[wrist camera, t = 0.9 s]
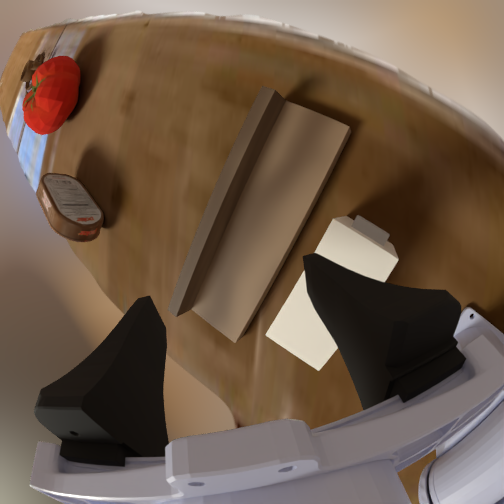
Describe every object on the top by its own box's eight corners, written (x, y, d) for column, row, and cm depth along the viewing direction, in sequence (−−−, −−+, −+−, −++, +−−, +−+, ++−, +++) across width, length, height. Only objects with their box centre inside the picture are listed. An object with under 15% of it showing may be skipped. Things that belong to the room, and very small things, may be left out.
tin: (71, 185, 39) (29, 187, 32) (76, 169, 38) (33, 169, 30) (109, 240, 35) (59, 248, 28) (116, 222, 34) (63, 228, 27)
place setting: (48, 42, 46) (34, 39, 41) (53, 64, 43) (35, 60, 38) (26, 87, 54) (12, 85, 48) (29, 117, 51) (12, 115, 46)
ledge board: (351, 131, 20) (345, 116, 17) (242, 337, 28) (222, 354, 24) (280, 102, 22) (262, 85, 19) (191, 298, 30) (167, 309, 26)
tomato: (65, 150, 39) (19, 148, 31) (52, 107, 42) (15, 103, 33) (100, 83, 33) (50, 72, 24) (82, 51, 36) (43, 41, 27)
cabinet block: (397, 235, 20) (405, 247, 14) (336, 330, 23) (318, 370, 17) (351, 207, 21) (339, 206, 15) (295, 303, 25) (265, 335, 19)
